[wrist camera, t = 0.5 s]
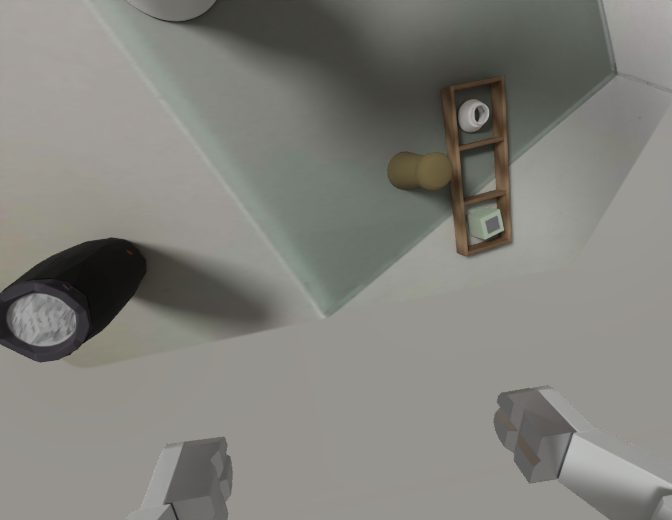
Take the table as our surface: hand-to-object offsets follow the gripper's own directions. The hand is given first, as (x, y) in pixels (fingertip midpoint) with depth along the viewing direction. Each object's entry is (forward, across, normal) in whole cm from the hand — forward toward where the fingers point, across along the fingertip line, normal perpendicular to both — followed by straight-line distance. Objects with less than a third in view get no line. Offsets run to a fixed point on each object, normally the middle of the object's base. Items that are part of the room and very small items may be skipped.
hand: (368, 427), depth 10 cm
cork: (+47, -17, 0) cm, 50 cm away
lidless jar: (+50, -29, -8) cm, 58 cm away
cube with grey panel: (+48, -32, +10) cm, 58 cm away
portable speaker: (+41, +27, +9) cm, 50 cm away
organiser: (+49, -31, +1) cm, 57 cm away
